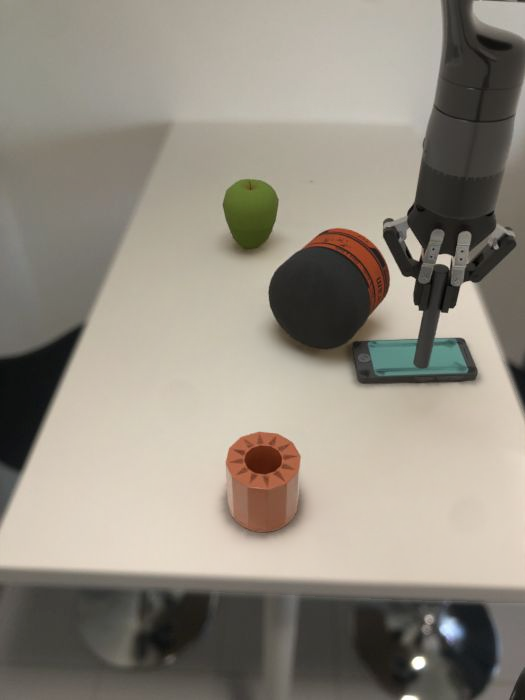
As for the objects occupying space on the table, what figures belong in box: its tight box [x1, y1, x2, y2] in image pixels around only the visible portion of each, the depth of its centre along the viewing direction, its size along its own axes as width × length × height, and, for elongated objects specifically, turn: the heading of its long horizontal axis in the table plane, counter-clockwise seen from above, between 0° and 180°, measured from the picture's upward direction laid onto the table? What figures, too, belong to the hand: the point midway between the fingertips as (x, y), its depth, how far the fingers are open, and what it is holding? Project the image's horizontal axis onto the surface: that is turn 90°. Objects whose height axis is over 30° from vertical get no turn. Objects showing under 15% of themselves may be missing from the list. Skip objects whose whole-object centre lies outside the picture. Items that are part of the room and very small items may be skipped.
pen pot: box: [225, 431, 302, 533], centre depth 69 cm, size 7×7×7 cm
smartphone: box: [351, 337, 479, 384], centre depth 87 cm, size 7×1×15 cm
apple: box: [222, 178, 280, 251], centre depth 105 cm, size 9×8×12 cm
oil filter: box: [267, 227, 391, 350], centre depth 88 cm, size 13×12×13 cm
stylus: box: [413, 263, 450, 369], centre depth 74 cm, size 2×2×14 cm
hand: (433, 307), depth 73 cm, fingers closed on stylus, 2 cm apart
